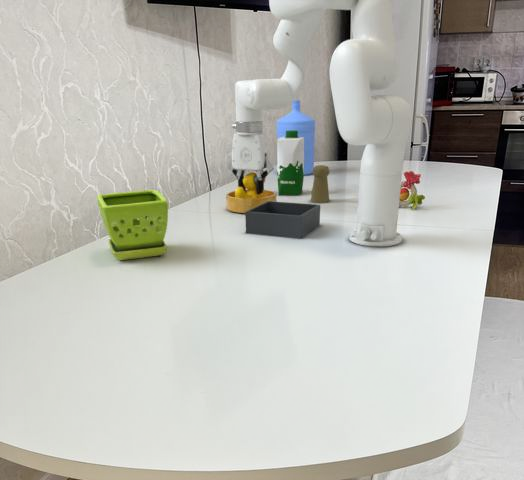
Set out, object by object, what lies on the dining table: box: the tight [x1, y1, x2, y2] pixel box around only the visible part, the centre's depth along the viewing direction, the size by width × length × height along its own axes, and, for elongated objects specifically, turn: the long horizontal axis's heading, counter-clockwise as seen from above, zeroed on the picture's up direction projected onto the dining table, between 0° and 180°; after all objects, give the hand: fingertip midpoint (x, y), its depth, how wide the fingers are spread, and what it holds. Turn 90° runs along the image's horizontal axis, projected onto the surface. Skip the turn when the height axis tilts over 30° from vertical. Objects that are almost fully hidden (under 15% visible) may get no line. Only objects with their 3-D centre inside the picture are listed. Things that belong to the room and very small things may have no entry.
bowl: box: [225, 189, 277, 214], centre depth 161 cm, size 15×15×4 cm
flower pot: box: [96, 189, 169, 261], centre depth 118 cm, size 14×14×13 cm
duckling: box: [234, 172, 267, 198], centre depth 159 cm, size 11×5×10 cm, turn 130°
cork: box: [310, 164, 330, 204], centre depth 167 cm, size 6×6×11 cm
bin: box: [244, 201, 321, 239], centre depth 137 cm, size 14×15×6 cm
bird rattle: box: [399, 170, 426, 210], centre depth 156 cm, size 6×11×9 cm
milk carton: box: [276, 131, 305, 196], centre depth 178 cm, size 9×9×20 cm
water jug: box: [276, 99, 316, 176], centre depth 217 cm, size 16×16×28 cm
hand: (251, 192), depth 159 cm, fingers closed on duckling, 5 cm apart
